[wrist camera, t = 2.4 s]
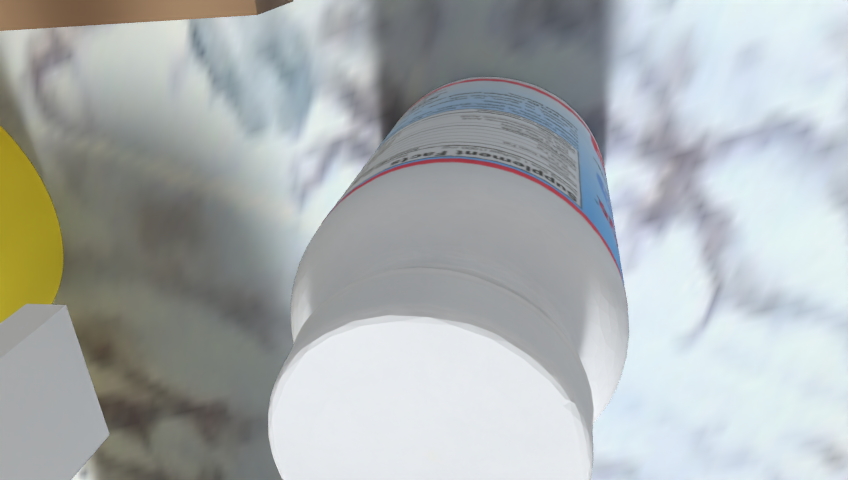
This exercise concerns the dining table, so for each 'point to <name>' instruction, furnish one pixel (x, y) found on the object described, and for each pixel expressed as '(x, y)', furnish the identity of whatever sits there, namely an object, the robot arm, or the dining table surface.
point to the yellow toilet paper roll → (26, 234)
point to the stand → (121, 11)
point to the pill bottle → (458, 301)
